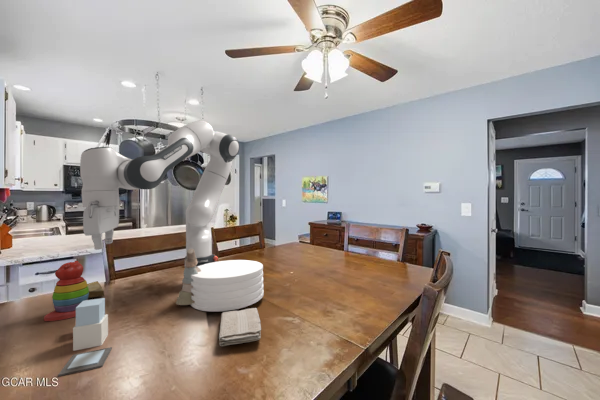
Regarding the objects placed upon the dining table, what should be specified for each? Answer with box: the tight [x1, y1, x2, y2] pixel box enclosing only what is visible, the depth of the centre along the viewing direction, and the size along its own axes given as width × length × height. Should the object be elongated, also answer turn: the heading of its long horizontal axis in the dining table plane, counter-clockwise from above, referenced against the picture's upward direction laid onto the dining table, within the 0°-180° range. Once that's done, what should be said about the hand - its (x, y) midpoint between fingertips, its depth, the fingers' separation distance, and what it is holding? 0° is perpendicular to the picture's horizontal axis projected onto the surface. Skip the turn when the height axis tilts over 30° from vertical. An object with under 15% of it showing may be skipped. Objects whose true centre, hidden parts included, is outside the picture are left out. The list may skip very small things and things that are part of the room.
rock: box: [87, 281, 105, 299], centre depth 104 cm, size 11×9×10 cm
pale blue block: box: [75, 297, 106, 327], centre depth 70 cm, size 5×5×5 cm
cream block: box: [72, 313, 109, 351], centre depth 70 cm, size 6×6×6 cm
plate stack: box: [189, 259, 265, 313], centre depth 101 cm, size 28×28×12 cm
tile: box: [57, 346, 113, 377], centre depth 62 cm, size 8×8×1 cm
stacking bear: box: [43, 260, 89, 322], centre depth 88 cm, size 11×10×18 cm
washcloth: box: [218, 307, 262, 347], centre depth 78 cm, size 12×18×3 cm, turn 16°
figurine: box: [175, 249, 201, 306], centre depth 95 cm, size 9×8×20 cm
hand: (104, 246), depth 77 cm, fingers open, 8 cm apart
